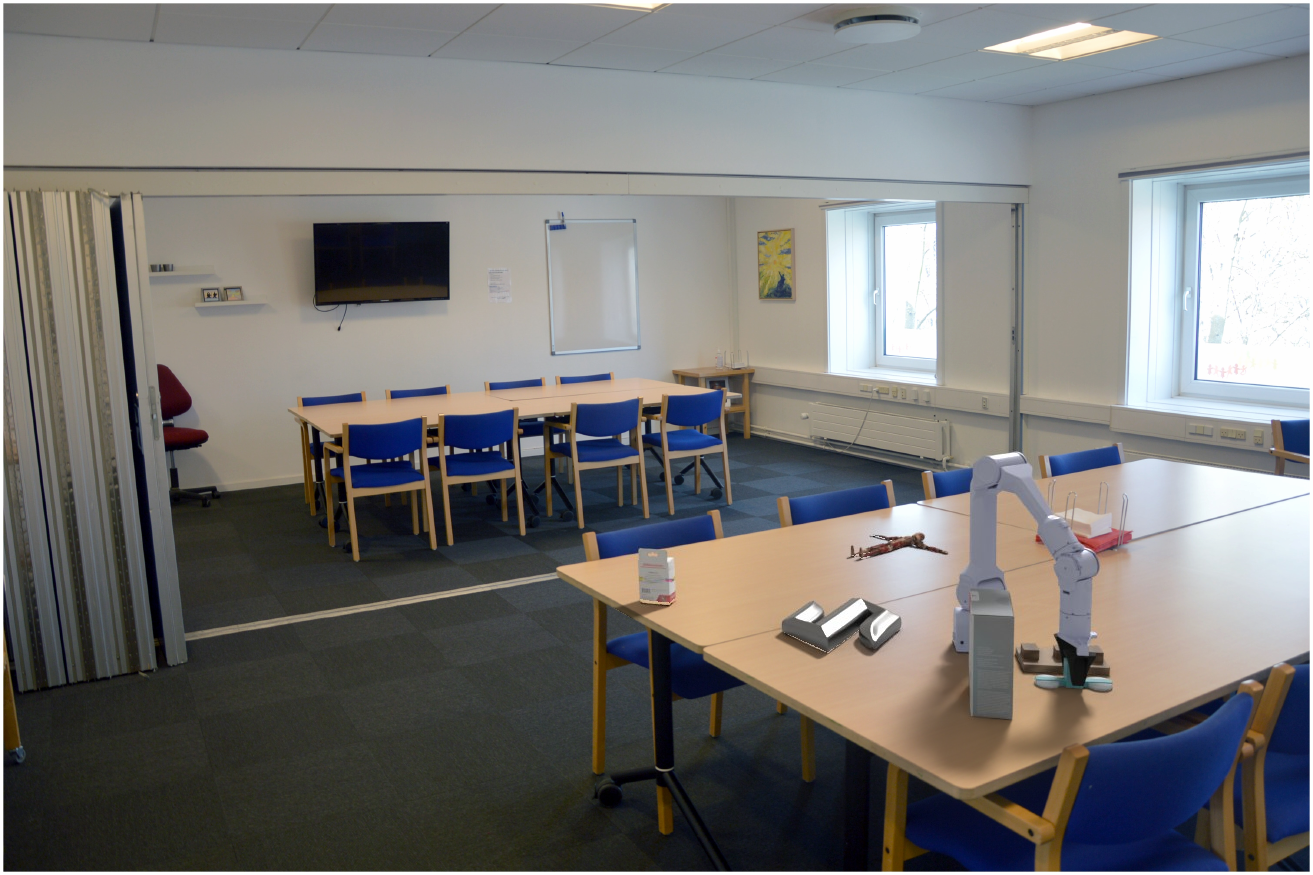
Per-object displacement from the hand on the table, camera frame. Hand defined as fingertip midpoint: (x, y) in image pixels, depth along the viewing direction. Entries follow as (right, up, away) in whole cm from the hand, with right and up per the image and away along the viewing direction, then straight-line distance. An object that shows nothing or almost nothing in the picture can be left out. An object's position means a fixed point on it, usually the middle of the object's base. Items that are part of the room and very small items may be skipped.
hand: (1073, 677), depth 189 cm
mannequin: (-11, +12, +104) cm, 106 cm away
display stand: (+2, 0, +11) cm, 11 cm away
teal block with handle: (0, -2, 0) cm, 2 cm away
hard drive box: (-19, -3, -6) cm, 20 cm away
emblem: (-39, +2, +34) cm, 52 cm away
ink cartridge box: (-82, +4, +60) cm, 102 cm away
